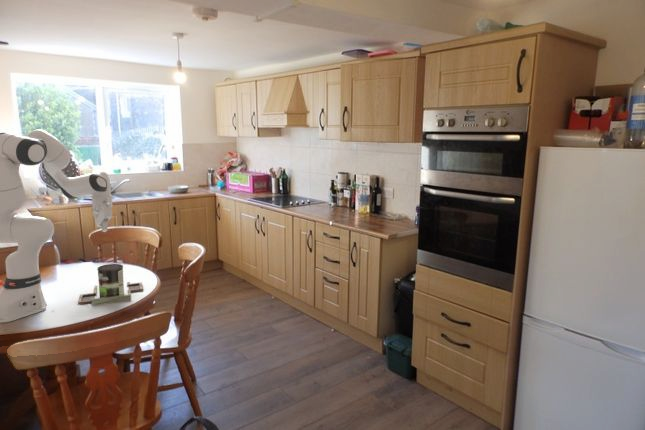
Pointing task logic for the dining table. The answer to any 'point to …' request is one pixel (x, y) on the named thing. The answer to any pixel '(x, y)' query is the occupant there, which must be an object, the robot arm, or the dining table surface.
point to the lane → (90, 297)
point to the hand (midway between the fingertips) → (105, 231)
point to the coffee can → (110, 280)
